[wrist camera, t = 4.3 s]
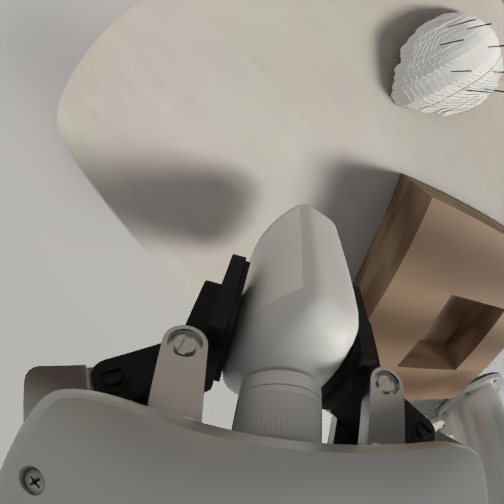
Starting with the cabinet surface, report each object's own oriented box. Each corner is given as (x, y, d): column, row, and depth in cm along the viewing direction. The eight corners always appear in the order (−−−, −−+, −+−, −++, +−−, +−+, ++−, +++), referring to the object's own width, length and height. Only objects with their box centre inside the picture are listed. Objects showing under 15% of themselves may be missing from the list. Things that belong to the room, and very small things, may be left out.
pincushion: (467, 0, 8) (511, -14, 3) (509, 69, 9) (558, 74, 5) (361, 60, 13) (394, 45, 8) (416, 139, 14) (463, 159, 10)
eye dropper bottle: (224, 237, 15) (126, 460, 5) (320, 192, 13) (371, 460, 3) (263, 295, 17) (225, 502, 6) (351, 261, 15) (395, 489, 4)
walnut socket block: (444, 368, 25) (454, 398, 21) (312, 354, 25) (313, 394, 21) (531, 244, 16) (556, 270, 12) (401, 173, 16) (432, 197, 12)
